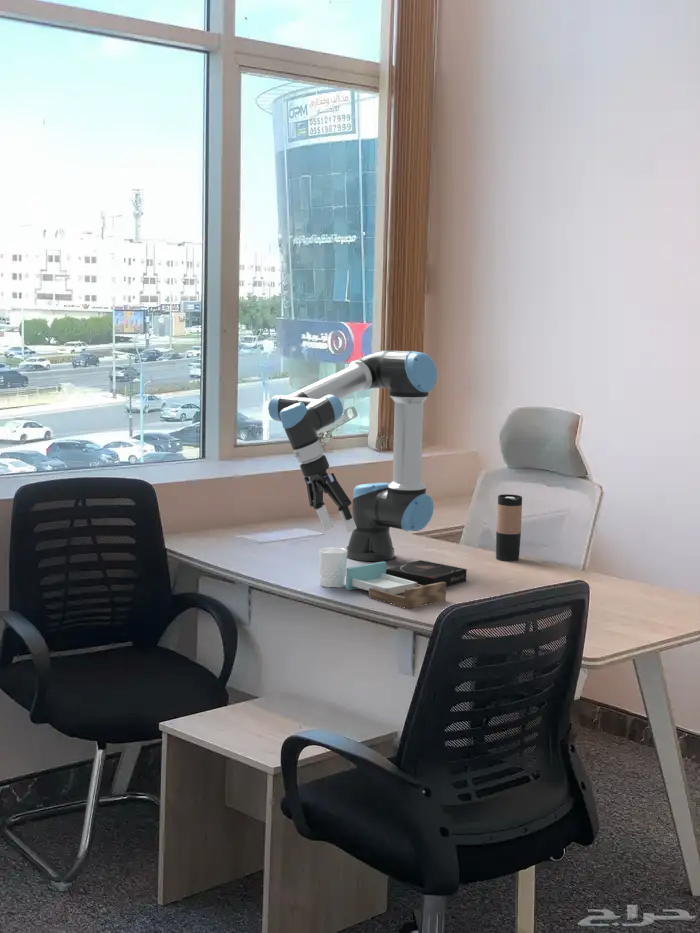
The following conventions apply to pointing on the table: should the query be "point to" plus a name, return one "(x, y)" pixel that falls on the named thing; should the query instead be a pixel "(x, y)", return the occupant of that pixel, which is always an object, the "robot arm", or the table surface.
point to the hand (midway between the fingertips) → (340, 529)
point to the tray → (376, 579)
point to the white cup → (332, 566)
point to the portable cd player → (428, 573)
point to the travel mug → (508, 527)
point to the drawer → (413, 595)
